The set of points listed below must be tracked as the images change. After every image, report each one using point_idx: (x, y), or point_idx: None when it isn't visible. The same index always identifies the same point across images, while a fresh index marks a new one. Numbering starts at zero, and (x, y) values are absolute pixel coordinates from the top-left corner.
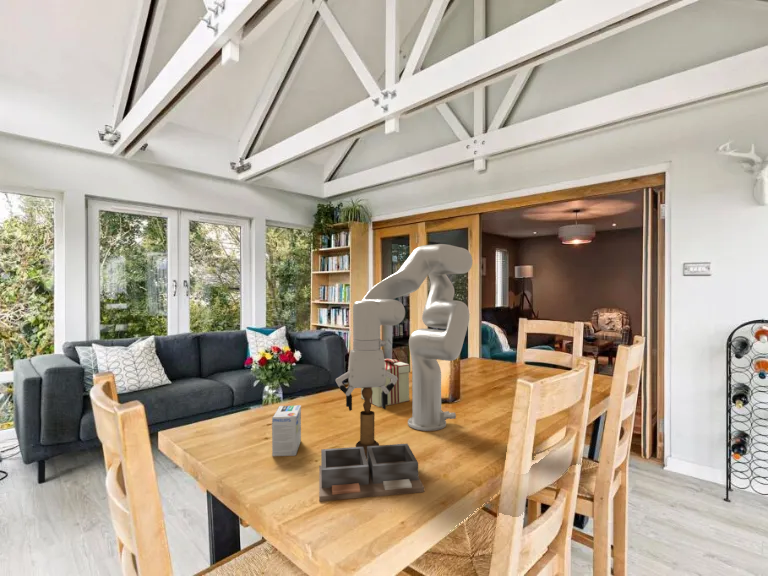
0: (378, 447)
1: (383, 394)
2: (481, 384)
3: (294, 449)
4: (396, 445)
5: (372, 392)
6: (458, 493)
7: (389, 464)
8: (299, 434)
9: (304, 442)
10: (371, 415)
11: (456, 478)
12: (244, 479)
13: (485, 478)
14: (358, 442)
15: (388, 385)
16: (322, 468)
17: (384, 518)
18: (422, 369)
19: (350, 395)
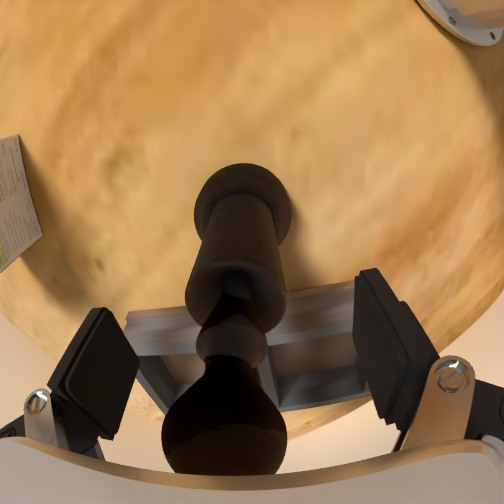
0: (289, 342)
1: (389, 413)
2: None
3: (32, 244)
4: (351, 329)
5: (285, 444)
6: None
7: (308, 406)
8: (3, 181)
9: (28, 141)
10: (266, 329)
11: (433, 332)
12: (35, 330)
13: (470, 324)
14: (203, 225)
15: (483, 427)
16: (165, 413)
17: (285, 420)
18: None
19: (99, 432)
